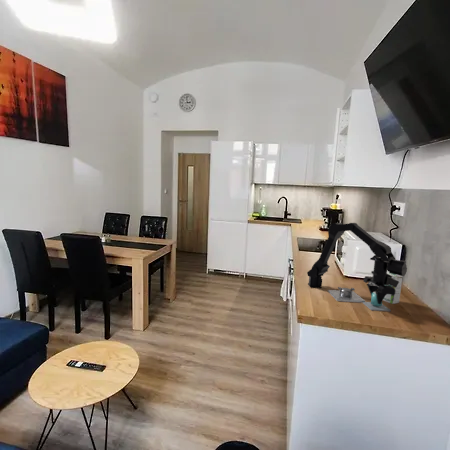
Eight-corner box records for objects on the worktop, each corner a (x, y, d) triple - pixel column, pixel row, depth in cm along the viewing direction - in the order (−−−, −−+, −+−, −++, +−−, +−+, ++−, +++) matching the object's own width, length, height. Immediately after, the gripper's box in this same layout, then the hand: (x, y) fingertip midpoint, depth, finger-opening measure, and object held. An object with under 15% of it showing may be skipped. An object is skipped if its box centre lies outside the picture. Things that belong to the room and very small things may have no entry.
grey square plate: (337, 301, 143) (338, 291, 142) (327, 291, 157) (328, 283, 156) (365, 302, 143) (366, 293, 142) (353, 292, 156) (354, 284, 156)
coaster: (371, 310, 133) (371, 309, 133) (362, 302, 142) (362, 301, 142) (390, 311, 133) (390, 310, 133) (380, 303, 142) (380, 302, 142)
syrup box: (381, 300, 148) (384, 273, 146) (389, 298, 150) (392, 272, 148) (391, 304, 142) (395, 276, 141) (399, 302, 145) (403, 275, 143)
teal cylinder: (368, 303, 138) (369, 292, 138) (374, 301, 141) (375, 290, 140) (377, 306, 134) (379, 295, 134) (384, 305, 137) (385, 294, 136)
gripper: (409, 277, 126) (405, 310, 128) (386, 266, 145) (383, 295, 146) (384, 276, 126) (380, 309, 128) (364, 265, 145) (361, 294, 147)
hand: (376, 301), depth 137 cm, fingers closed on teal cylinder, 5 cm apart
